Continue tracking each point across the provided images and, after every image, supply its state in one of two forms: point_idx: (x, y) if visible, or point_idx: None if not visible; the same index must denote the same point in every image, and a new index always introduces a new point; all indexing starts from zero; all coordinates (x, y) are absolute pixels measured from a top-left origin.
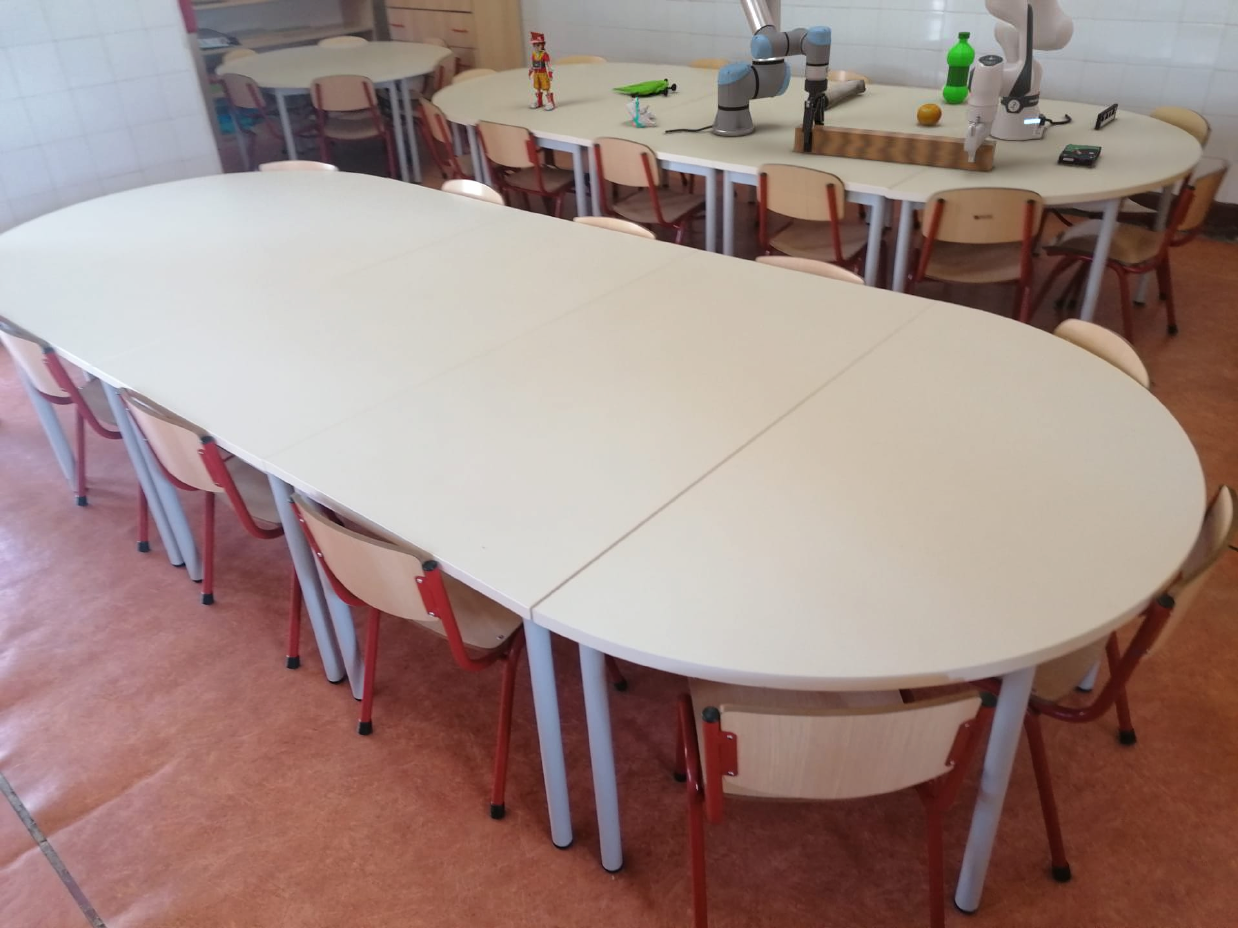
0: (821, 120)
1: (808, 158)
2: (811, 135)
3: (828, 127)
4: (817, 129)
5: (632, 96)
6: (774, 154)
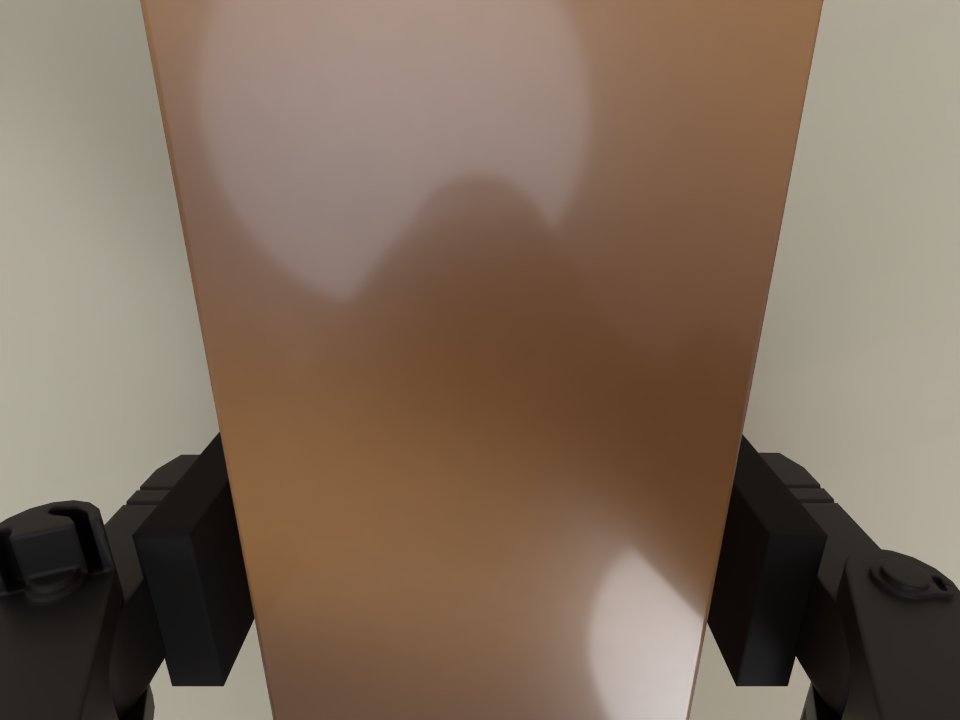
0: (12, 669)
1: (827, 311)
2: (787, 505)
3: (383, 258)
4: (721, 493)
5: None
6: (728, 686)
